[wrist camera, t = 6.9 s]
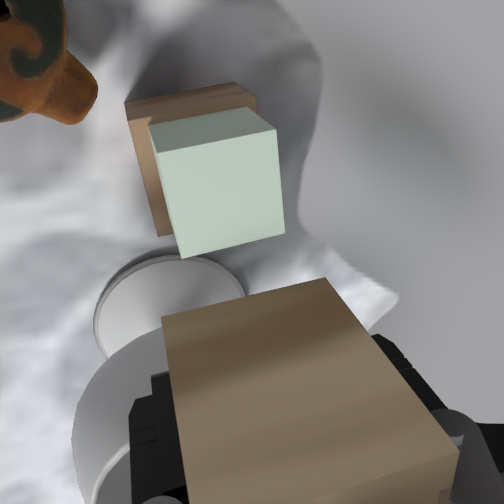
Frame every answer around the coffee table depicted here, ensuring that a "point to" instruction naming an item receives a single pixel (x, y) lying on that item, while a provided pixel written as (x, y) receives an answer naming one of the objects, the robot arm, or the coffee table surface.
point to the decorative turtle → (40, 64)
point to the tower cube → (219, 179)
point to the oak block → (298, 406)
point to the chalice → (134, 361)
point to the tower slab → (169, 110)
